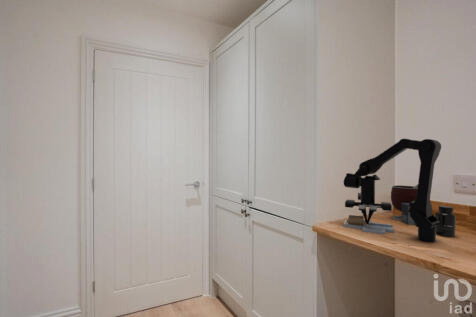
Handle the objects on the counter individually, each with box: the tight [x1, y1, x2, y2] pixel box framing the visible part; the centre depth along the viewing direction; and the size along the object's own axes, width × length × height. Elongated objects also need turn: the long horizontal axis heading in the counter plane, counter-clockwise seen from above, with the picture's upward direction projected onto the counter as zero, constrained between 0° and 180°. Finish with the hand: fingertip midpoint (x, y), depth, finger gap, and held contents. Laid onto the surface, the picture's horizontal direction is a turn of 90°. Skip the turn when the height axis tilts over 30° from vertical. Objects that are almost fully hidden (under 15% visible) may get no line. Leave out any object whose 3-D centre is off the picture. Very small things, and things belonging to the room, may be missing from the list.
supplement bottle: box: [435, 205, 457, 238], centre depth 115 cm, size 7×7×12 cm
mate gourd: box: [390, 184, 418, 222], centre depth 141 cm, size 16×14×20 cm
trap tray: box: [342, 219, 395, 235], centre depth 122 cm, size 20×19×2 cm
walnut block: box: [347, 214, 364, 226], centre depth 125 cm, size 5×6×4 cm
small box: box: [400, 203, 416, 226], centre depth 129 cm, size 11×6×10 cm, turn 84°
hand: (367, 223), depth 122 cm, fingers closed
